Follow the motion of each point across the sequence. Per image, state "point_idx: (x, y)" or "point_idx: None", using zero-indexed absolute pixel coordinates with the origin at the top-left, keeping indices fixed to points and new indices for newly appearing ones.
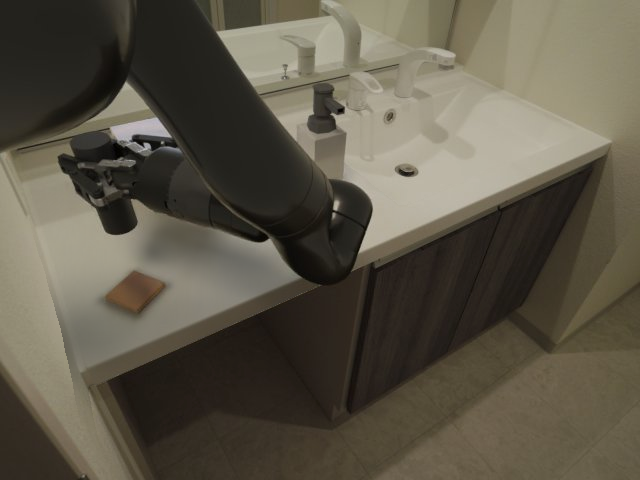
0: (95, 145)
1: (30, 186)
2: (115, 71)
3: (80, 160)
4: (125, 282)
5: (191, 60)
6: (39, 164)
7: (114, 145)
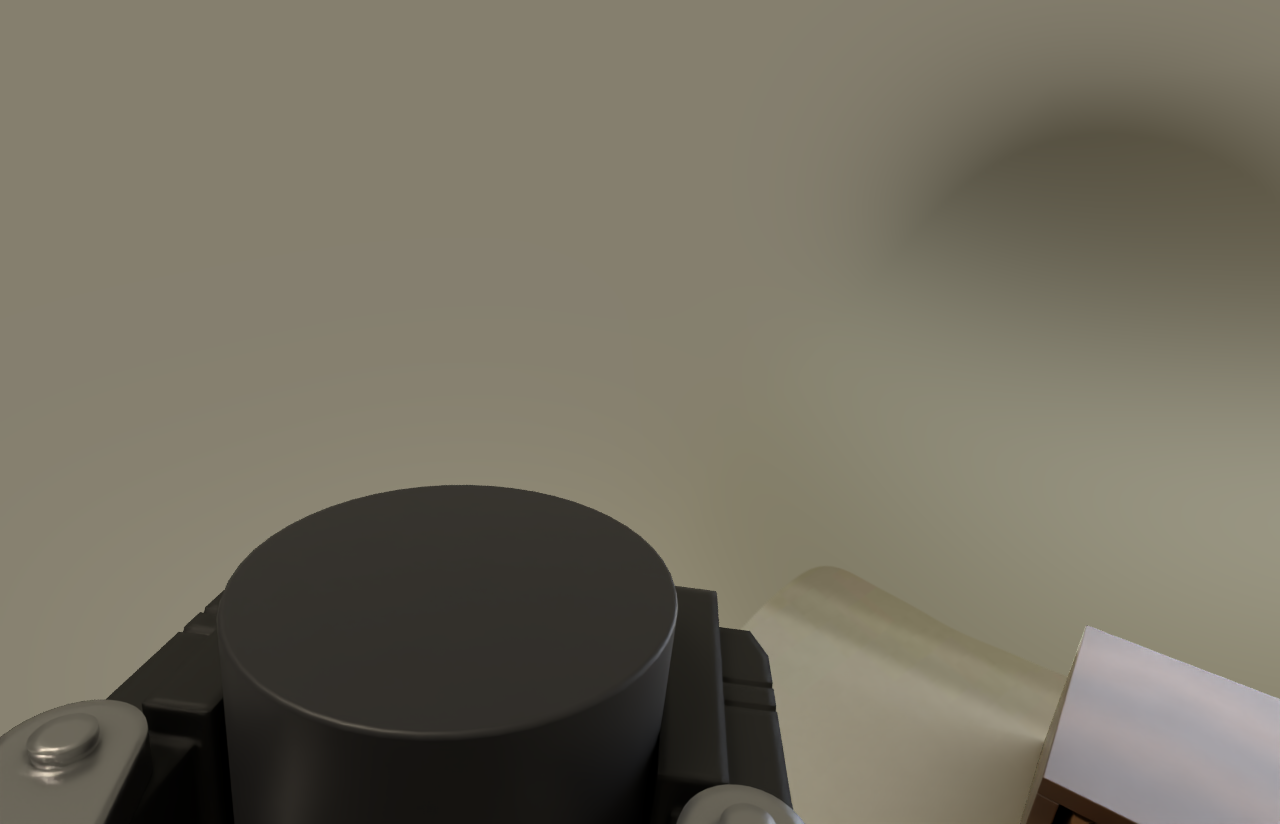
0: (323, 663)
1: (754, 621)
2: None
3: (197, 685)
4: None
5: None
6: (836, 590)
7: (661, 800)
